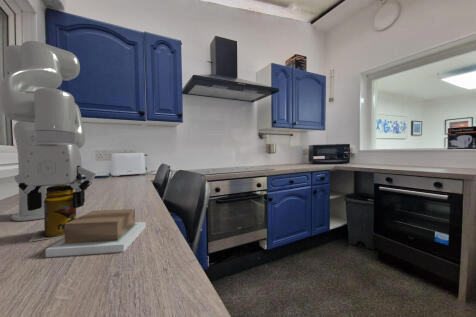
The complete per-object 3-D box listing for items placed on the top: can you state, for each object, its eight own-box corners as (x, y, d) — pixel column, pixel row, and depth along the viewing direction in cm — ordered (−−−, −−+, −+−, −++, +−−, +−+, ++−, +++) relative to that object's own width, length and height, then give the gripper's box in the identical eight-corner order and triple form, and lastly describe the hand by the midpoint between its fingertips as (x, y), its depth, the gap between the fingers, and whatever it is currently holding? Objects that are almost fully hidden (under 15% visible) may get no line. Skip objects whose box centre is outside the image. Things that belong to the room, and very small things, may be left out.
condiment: (76, 234, 49) (76, 186, 49) (28, 243, 44) (27, 190, 44) (79, 226, 55) (79, 183, 55) (37, 232, 50) (36, 185, 50)
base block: (93, 226, 50) (93, 210, 50) (135, 224, 51) (134, 209, 51) (64, 243, 40) (64, 224, 40) (117, 240, 42) (117, 221, 41)
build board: (89, 230, 52) (89, 224, 52) (145, 227, 54) (145, 221, 54) (45, 257, 38) (45, 248, 38) (123, 251, 40) (123, 244, 40)
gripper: (0, 138, 44) (0, 214, 44) (84, 137, 47) (85, 209, 47) (30, 141, 52) (30, 206, 51) (101, 141, 54) (102, 203, 54)
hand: (57, 208), depth 49 cm, fingers open, 9 cm apart
